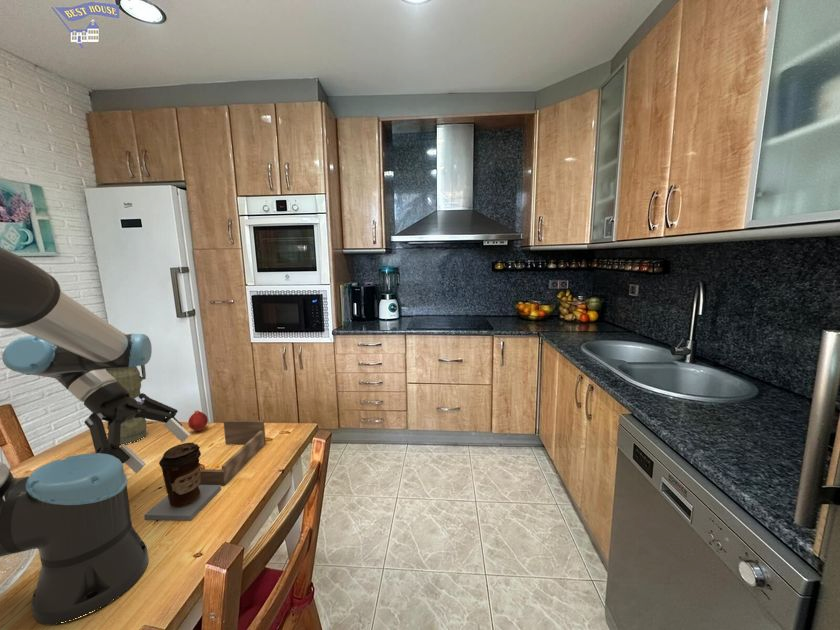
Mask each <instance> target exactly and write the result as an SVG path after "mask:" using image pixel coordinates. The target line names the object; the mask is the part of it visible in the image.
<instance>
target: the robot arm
mask: <svg viewBox="0 0 840 630" xmlns="http://www.w3.org/2000/svg"><path fill="white" fill-rule="evenodd" d="M0 329H1V330H2V329H5V330H6V329H7V330H8V329H9V330H10V329H11V330H12V329H16V330H19V331H20V332H23V333H26V334H28V335H27V336H23V337H19V338H17V339H14V340H13V341H11V342H10V343H9V344H8V345H7V346H6V347H5V348H4V350H3V351H2V355H1V356H2V358H1V360H2V362H3V365H4V366H5V367H6V368H8V369H9V370H11V371H13V372H17V373H20V374H22V375H26V376H31V375H32V376H37V377H45V378H51V379H55V380H56V381H57V382H59V383H60V384H61V385H62V386H63V387H64V388H65V389H66V390H67V391H69V392H70V393H71V394H72V396H74V397H75V398H76V399H77V400H78V401H79V402H81V403H83V405H84V406H85V408H87V409H88V411H90V412H91V414H90V415H89V416H88V417H87V418H86V419H85V421H84V422H83V423H84V424H85V425H86V426H87V428H88V429H89V433H90V436H91V439H92V445H93V447H94V451H95V452H96V453H90V454H86V453H81V454H76V455H71V456H66V457H65V458H64V459H56V460H53V461H51V462H49V463H46V464H44V465H41V466H40V467H38V468H36V469H35V470H34V471H33V472H31V474H30V475H29V476H23V477H14V476H13V473H12V472H11V470H10V468H9V467H8V465H7V464H6V463H4V462H2V461H0V558H2V557H6V556H10V555H14V554H17V553H18V554H19V553H22V552H26V551H31V550H35V549H36V550H38V552H39V558H40V565H41V567H40V572H39V575H38V579H37V584H36V588H35V590H34V592H33V596H32V598H31V611H32V615H33V618H34V620H35V621H36V622H37V623H38V624H42V625H45V624H55V625H57V624H56V623H61V622H65V621H69V620H73V619H75V618H78V617H80V616H83V615H85V614H88V613H89V612H92V611H94V610H97V609H99V608H100V607H102V606H104V605H106V604H107V603H109V602H111V601H112V600H113V599H115V598H117V597H118V596H119V597H120V595H121V594H122V595H123V594H124V593H126V592H127V591H128V590H129V589H130V588H132V587H133V586H134V585H135V583H137V581H138V580H139V579H140V578H141V577H142V575H143V573H144V572H145V571H146V568H147V566H148V564H149V553H148V547H147V545H146V543H145V542H144V540H143V539H142V537H141V536H140V535H139V533H138V532H137V531H136V530H135V528H134V527H133V525H132V519H131V509H130V501H129V500H130V499H129V493H128V486H127V485H128V479H127V478H128V477H127V475H126V473H125V469H124V465H122V464H123V463H124V464H125V465H126V466H128V468H130V469H131V470H132V471H133V472H134V473H135V474H138V473H139V472H140V471H141V470H142V469H143V468H144V467H145V466H146V465H147V463H146V462H145V461H144V460H143V459H142V458H141V457H139V456H138V454H136V453H135V452H134V451H133V450H132V449H130V447H129V446H127V445H125V444H124V445H120V431H121V424H122V423H124V422H125V421H127V420H131V419H133V418H139V417H141V418H145V419H146V420H151V421H155V422H159V423H165V424H164V425H163V426H164V428H165V429H167V430H168V431H169V432H171V434H172V435H173V436H175V437H176V438H177V440H179V441H180V442H181V443H185V441H186V440H187V439H188V438H189V437H190V436H191V433H189V431H187V429H186V428H184V427H183V424H182V423H181V422H180V421H179V420H178V419H177V418H176V417H175V416H176V415H177V413H179V412H178V409H176V408H174V407H172V406H169V405H167V404H164V403H163V402H160V401H158V400H155V399H153V398H150V397H149V396H148V395H147V394H146V393H144V392H143V393H141V392H140V395H139V396H138V397H137V398H135V399H133V398H131V397H130V396H129V394H128V390H126V389H125V388H124V387H123V386H122V385H121V384H120V383H119V382H116V379H115V378H114V377H113V376H111V375H110V374H109V373H108V372H107V371H106V369H114V368H126V367H128V368H131V367H134V366H137V367H139V366H140V367H141V365H147V364H148V363H149V362H150V360H151V357H152V351H153V349H152V343H151V339H150V338H149V336H148V335H147V334H145V333H130V334H129V333H128V334H126V333H124V332H122V331H121V330H119V329H118V328H116V327H115V326H113V324H111V323H109V322H108V321H106V320H105V319H103V318H102V317H100V316H99V315H98V314H96V313H94V312H92V311H91V310H90V309H88V308H86V307H85V306H84V305H82V304H81V303H79V302H78V301H76V300H75V299H73V298H72V297H70V296H69V295H67V294H66V293H64V292H62V289H61V284H60V283H59V282H58V280H57V279H56V278H55V277H54V276H52V275H51V274H50V273H49V272H47V271H46V270H44V269H43V268H41V267H39V266H38V265H36V264H35V263H33V262H31V261H29V260H27V259H26V258H24V257H22V256H20V255H17V254H16V253H13V252H12V251H8V250H6V249H4V248H2V247H0ZM138 410H139V411H138ZM103 421H105V422H107V430H108V432H106V428H105V425H104V422H103ZM127 589H128V590H127ZM126 590H127V591H126ZM125 591H126V592H125ZM122 595H121V596H122ZM119 597H118V598H119ZM118 598H117V599H118ZM115 600H116V599H115ZM112 602H113V601H112ZM112 602H111V603H112ZM109 604H110V603H109ZM107 605H108V604H107ZM107 605H106V606H107ZM104 607H105V606H104ZM102 608H103V607H102ZM99 610H100V609H99ZM97 611H98V610H97ZM73 621H74V620H73Z"/></svg>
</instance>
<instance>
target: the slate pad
mask: <svg viewBox="0 0 840 630" xmlns="http://www.w3.org/2000/svg"><path fill="white" fill-rule="evenodd" d="M198 488H199V489H200V493H201V494H200V496H199V497H198V498H197V499H196V500H195V501H194V502H192V503H190V504H188V505H185V506H182V507H177V508H175V507H172V506H171V505H170V503H169V500H168V494H166V496H165V497H163V498H162V499H161V500H160V501H158V502H157V504H155V505H154V506H153V507H151V508H150V509H149V510H148V511H147V512H146V513H144V514H143V516H144V517H143V518H144V520H146V521H150V520H151V521H152V520H153V521H189V522H190V521H192V520H193V519H194V518H195V517H196V516H197V515H198V514H200V512H201V511H202V510H203V509H204V508H205V506H207V504H208V503H210V502H211V501H212V500H213V498H214V497H215V496H216V495H217V494H218V493H219V492H220V491H221V489H222V486H221V485H199V486H198Z"/></svg>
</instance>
